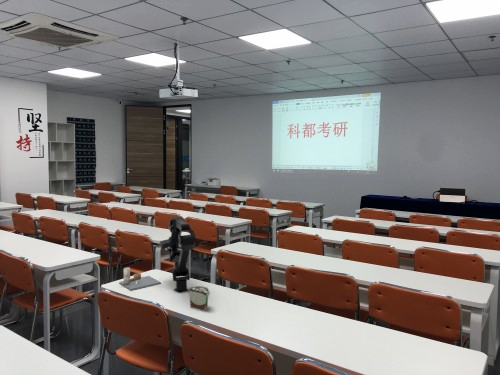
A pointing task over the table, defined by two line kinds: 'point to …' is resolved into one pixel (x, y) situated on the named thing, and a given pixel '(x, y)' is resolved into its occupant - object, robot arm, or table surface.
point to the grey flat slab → (141, 283)
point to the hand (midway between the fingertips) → (170, 261)
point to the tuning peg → (127, 276)
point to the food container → (199, 297)
